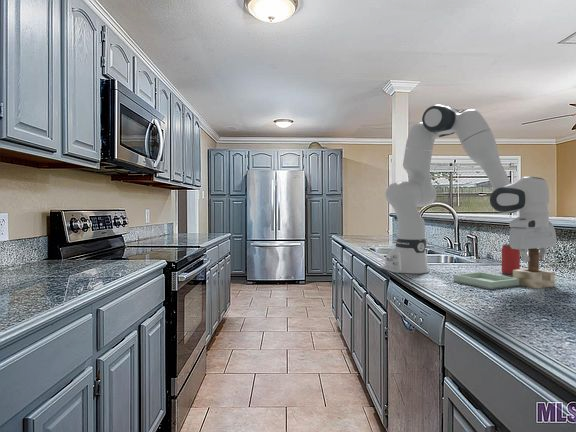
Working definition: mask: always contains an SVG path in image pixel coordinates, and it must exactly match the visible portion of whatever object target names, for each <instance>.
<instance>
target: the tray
mask: <svg viewBox="0 0 576 432" xmlns="http://www.w3.org/2000/svg"><path fill="white" fill-rule="evenodd" d="M453 282H455V283H460V284H465V285H469V286H472V287H478V288H483V289H486V290H491V289H492V290H498V289H504V288H505V289H507V288H512V287H513V288H514V287H519V286H520V285H519V279H517V278H513V276H511V277H510V276H507V275H500V274H493V273H488V272H484V271H483V272H482V271H476V272H466V273H457V274H456V273H455V274H453Z"/></svg>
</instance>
